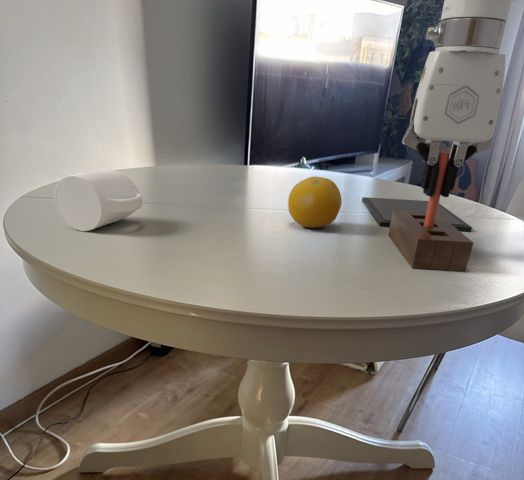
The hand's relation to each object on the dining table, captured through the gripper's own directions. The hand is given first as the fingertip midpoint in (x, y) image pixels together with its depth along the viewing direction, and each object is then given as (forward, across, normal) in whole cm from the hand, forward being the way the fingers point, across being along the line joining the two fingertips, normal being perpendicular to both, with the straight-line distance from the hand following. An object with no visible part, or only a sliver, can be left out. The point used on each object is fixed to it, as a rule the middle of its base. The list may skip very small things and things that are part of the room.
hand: (435, 194), depth 67 cm
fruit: (+9, -16, +11) cm, 21 cm away
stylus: (+7, 0, 0) cm, 7 cm away
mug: (+9, -49, +4) cm, 50 cm away
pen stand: (+8, 0, 0) cm, 8 cm away
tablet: (+8, +4, +25) cm, 27 cm away
